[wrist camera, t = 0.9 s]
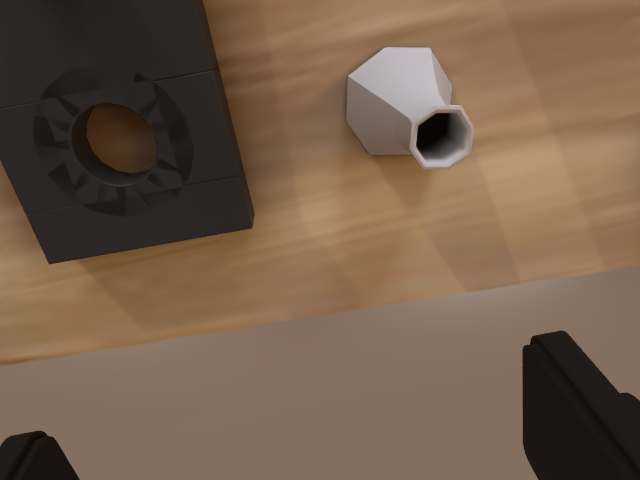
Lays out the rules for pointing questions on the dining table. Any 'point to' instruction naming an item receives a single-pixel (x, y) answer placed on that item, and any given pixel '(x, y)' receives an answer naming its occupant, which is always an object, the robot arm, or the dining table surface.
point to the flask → (408, 109)
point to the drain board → (125, 90)
